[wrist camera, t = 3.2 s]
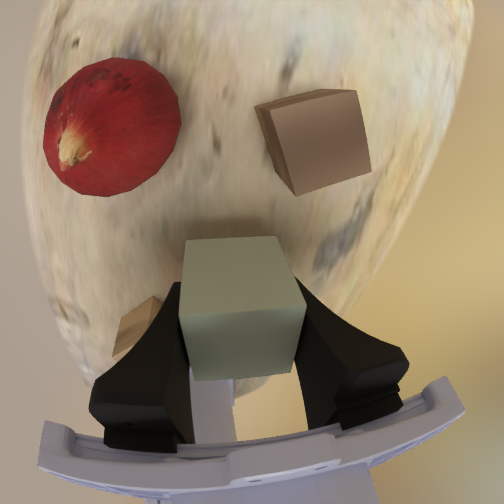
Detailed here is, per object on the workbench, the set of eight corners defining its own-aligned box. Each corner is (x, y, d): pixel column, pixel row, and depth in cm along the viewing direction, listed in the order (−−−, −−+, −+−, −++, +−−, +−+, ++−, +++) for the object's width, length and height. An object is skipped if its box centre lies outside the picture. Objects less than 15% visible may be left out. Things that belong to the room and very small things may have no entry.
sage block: (269, 301, 16) (290, 372, 12) (194, 306, 15) (194, 381, 11) (275, 235, 13) (306, 305, 9) (185, 240, 13) (178, 314, 9)
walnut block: (337, 152, 15) (371, 171, 12) (275, 171, 15) (295, 196, 12) (321, 89, 13) (356, 90, 9) (253, 106, 13) (269, 110, 10)
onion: (70, 110, 11) (-27, 141, 4) (153, 46, 10) (96, 3, 3) (121, 187, 14) (63, 269, 7) (206, 131, 13) (203, 169, 7)
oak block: (189, 324, 21) (189, 365, 17) (156, 343, 22) (152, 381, 18) (153, 295, 19) (146, 337, 15) (121, 317, 19) (111, 357, 16)
